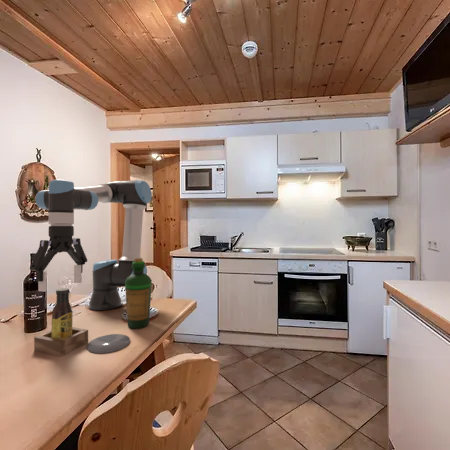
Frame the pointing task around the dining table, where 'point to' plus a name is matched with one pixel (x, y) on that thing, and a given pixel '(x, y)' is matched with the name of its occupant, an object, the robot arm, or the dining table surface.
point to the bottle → (138, 296)
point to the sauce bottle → (62, 316)
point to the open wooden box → (60, 342)
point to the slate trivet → (108, 343)
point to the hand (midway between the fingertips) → (61, 286)
